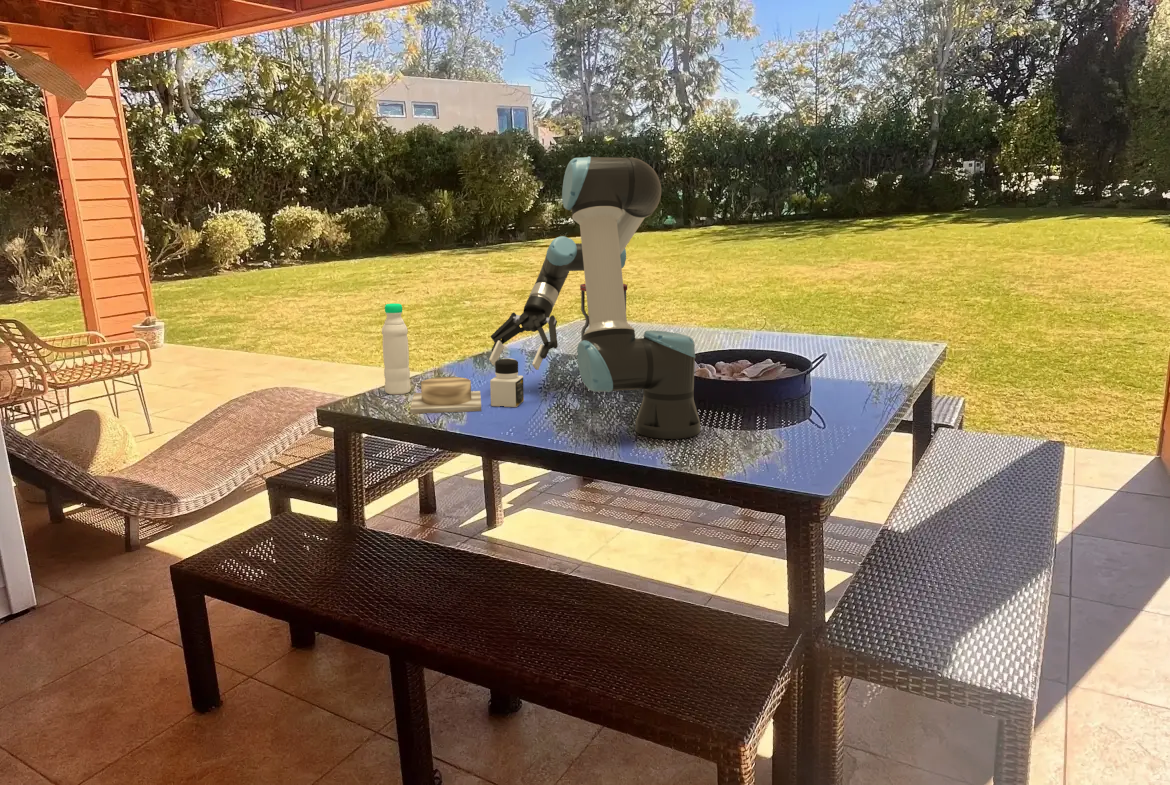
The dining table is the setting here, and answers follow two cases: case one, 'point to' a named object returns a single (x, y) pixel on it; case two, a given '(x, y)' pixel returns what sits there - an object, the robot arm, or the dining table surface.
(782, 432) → the dining table surface
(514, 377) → the medicine bottle
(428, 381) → the post stand
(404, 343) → the water bottle
